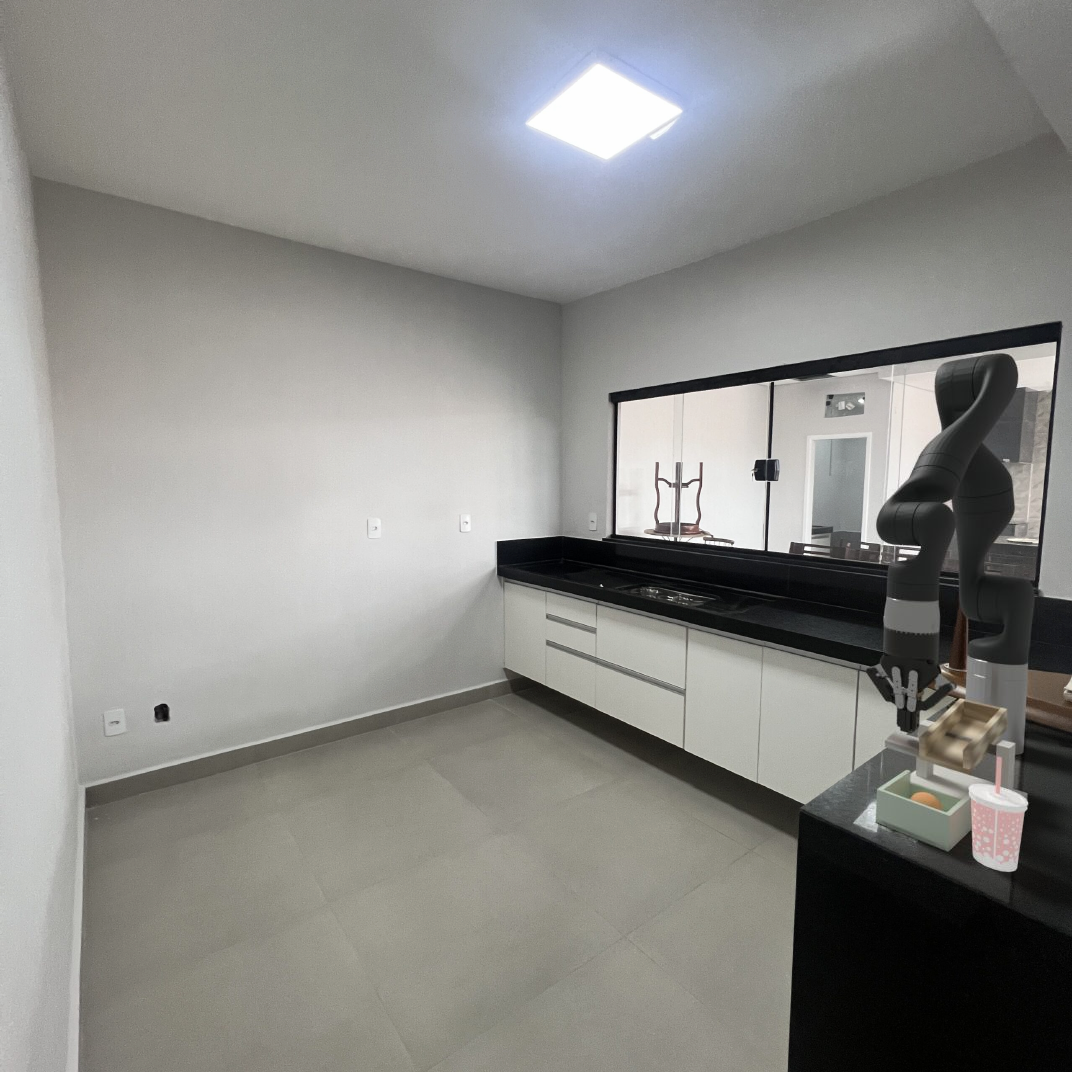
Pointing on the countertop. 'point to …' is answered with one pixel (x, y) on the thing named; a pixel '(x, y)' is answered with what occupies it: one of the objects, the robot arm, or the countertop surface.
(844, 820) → the countertop surface
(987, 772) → the countertop surface
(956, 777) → the pivot stand
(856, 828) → the countertop surface
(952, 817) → the cup
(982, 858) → the beverage cup
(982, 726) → the tipping chute
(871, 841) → the countertop surface
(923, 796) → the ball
